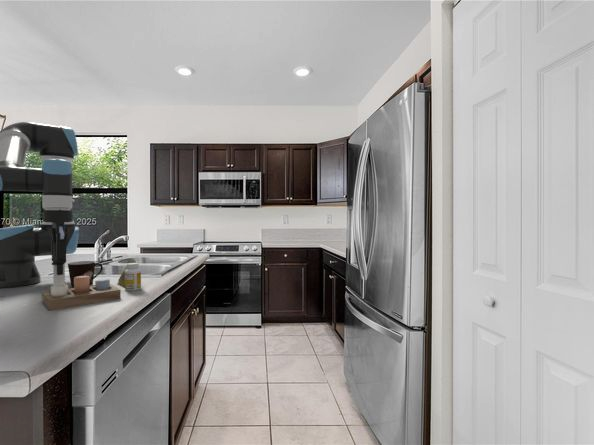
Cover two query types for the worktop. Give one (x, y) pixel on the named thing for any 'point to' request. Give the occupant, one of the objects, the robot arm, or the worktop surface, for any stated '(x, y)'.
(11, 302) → the worktop surface
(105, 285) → the pale blue egg
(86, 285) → the peach oval egg shape
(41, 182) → the robot arm
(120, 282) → the rock
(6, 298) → the worktop surface
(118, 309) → the worktop surface
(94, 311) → the worktop surface
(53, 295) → the off-white egg
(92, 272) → the coffee mug
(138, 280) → the supplement bottle
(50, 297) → the brown wooden flat block
